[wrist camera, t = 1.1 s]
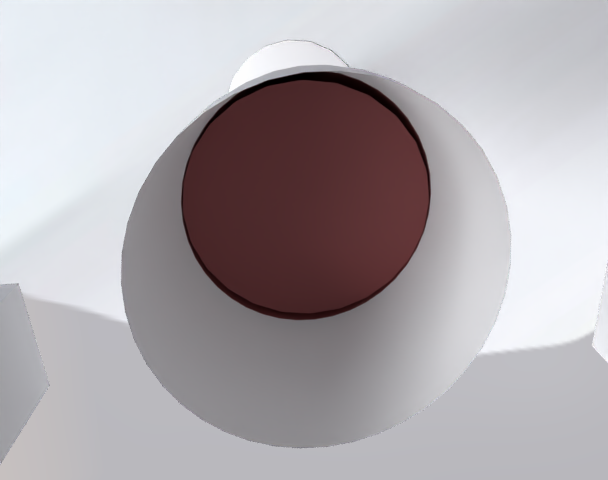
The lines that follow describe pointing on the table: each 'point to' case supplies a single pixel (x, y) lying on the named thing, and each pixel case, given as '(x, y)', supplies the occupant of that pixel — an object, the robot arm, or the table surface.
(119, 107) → the table surface
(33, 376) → the robot arm
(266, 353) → the wineglass
